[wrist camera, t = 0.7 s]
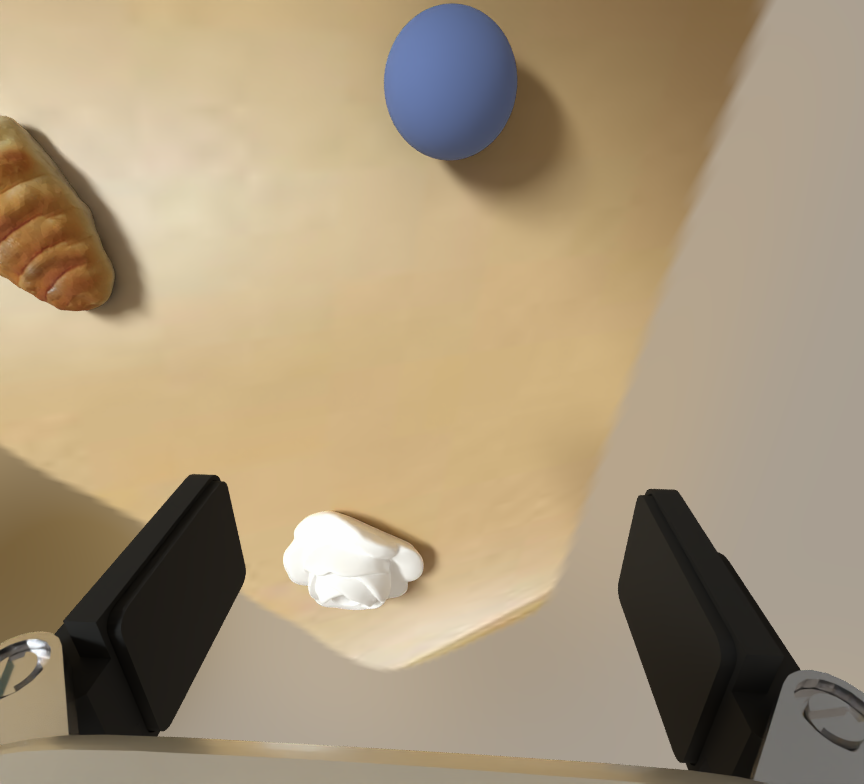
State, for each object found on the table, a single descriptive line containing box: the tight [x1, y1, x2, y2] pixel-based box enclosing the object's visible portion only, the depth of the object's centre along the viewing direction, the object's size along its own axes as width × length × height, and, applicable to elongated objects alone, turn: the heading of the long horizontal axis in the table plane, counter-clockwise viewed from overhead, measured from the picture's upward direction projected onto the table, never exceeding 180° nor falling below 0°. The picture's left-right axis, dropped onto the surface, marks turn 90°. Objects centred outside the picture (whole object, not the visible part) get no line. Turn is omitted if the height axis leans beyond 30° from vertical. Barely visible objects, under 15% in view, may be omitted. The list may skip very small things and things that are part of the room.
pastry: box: [0, 116, 115, 311], centre depth 25 cm, size 9×7×4 cm
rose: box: [283, 511, 424, 610], centre depth 35 cm, size 10×4×10 cm
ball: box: [384, 4, 517, 160], centre depth 20 cm, size 6×6×6 cm
